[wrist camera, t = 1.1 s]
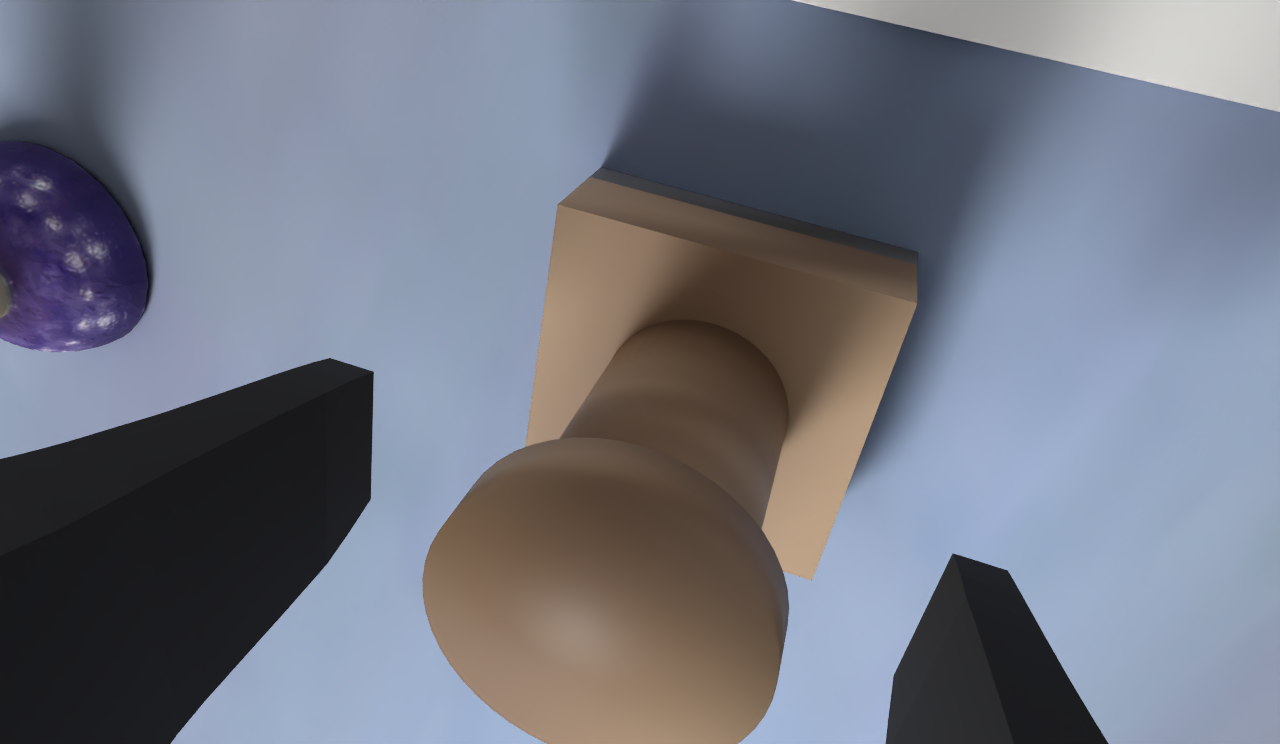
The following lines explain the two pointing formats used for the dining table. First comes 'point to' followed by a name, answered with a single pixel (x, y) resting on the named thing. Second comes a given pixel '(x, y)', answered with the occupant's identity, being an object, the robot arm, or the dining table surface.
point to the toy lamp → (64, 255)
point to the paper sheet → (1116, 37)
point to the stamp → (668, 466)
